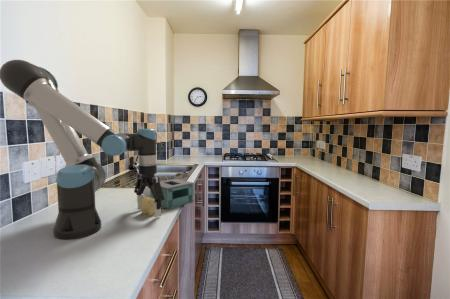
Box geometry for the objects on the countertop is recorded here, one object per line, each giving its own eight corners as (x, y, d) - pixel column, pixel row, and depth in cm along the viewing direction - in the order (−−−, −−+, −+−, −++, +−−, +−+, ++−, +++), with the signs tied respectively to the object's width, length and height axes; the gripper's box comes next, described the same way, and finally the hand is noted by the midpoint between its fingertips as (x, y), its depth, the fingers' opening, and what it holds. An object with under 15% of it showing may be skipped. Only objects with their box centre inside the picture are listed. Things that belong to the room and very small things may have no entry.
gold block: (155, 214, 110) (155, 199, 109) (149, 216, 108) (148, 200, 107) (147, 211, 114) (147, 196, 113) (141, 213, 112) (141, 197, 111)
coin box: (167, 209, 117) (166, 188, 116) (150, 203, 126) (150, 183, 125) (193, 202, 129) (193, 182, 128) (176, 196, 138) (176, 178, 137)
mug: (160, 200, 131) (160, 185, 131) (143, 199, 133) (142, 184, 133) (170, 194, 143) (169, 180, 142) (153, 193, 145) (153, 179, 144)
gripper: (172, 166, 103) (173, 217, 105) (140, 160, 120) (141, 204, 122) (156, 169, 98) (157, 222, 100) (125, 162, 114) (127, 208, 116)
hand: (148, 212), depth 111 cm, fingers open, 13 cm apart
